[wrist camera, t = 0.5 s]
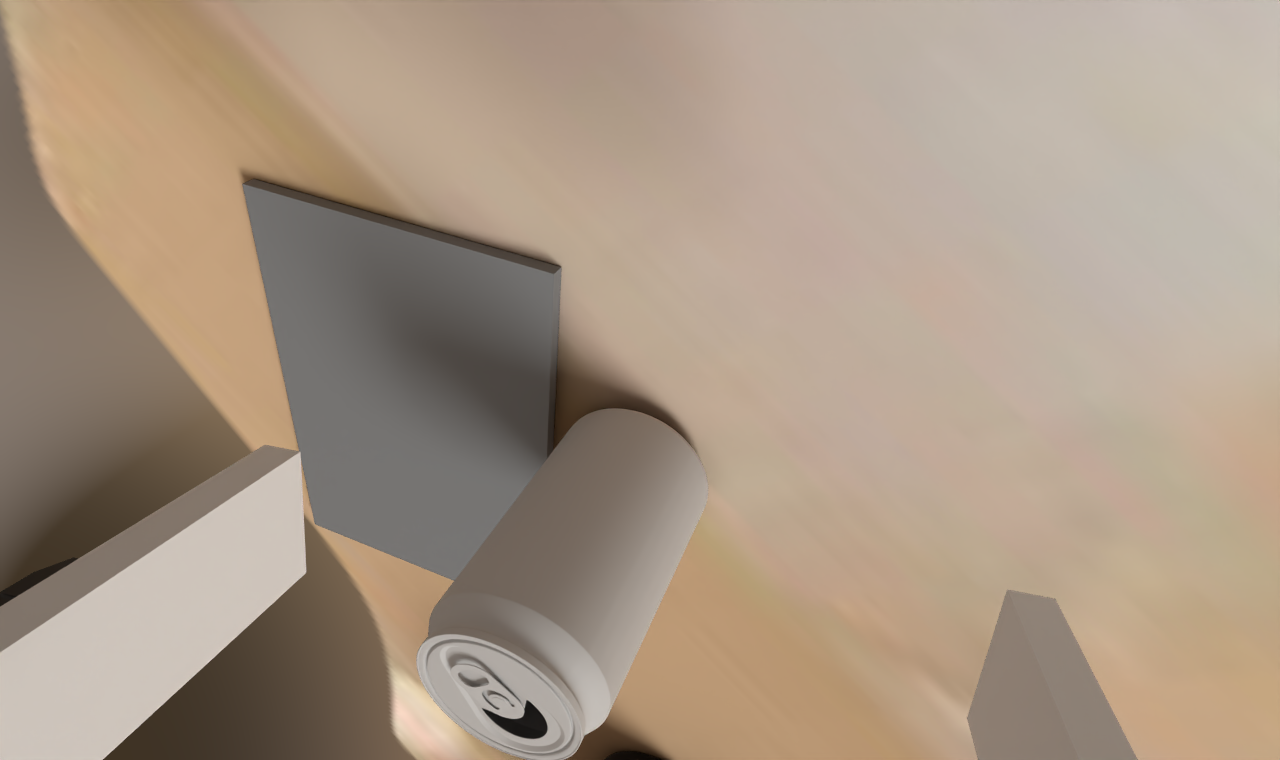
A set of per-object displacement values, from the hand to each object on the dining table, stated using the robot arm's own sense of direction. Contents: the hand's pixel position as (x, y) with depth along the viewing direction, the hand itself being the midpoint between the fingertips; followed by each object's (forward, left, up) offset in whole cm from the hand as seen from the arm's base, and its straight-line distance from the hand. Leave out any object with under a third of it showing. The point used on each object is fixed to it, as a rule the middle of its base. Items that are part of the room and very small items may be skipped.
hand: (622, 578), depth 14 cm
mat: (+13, -15, -14) cm, 24 cm away
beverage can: (+11, -4, -14) cm, 18 cm away
